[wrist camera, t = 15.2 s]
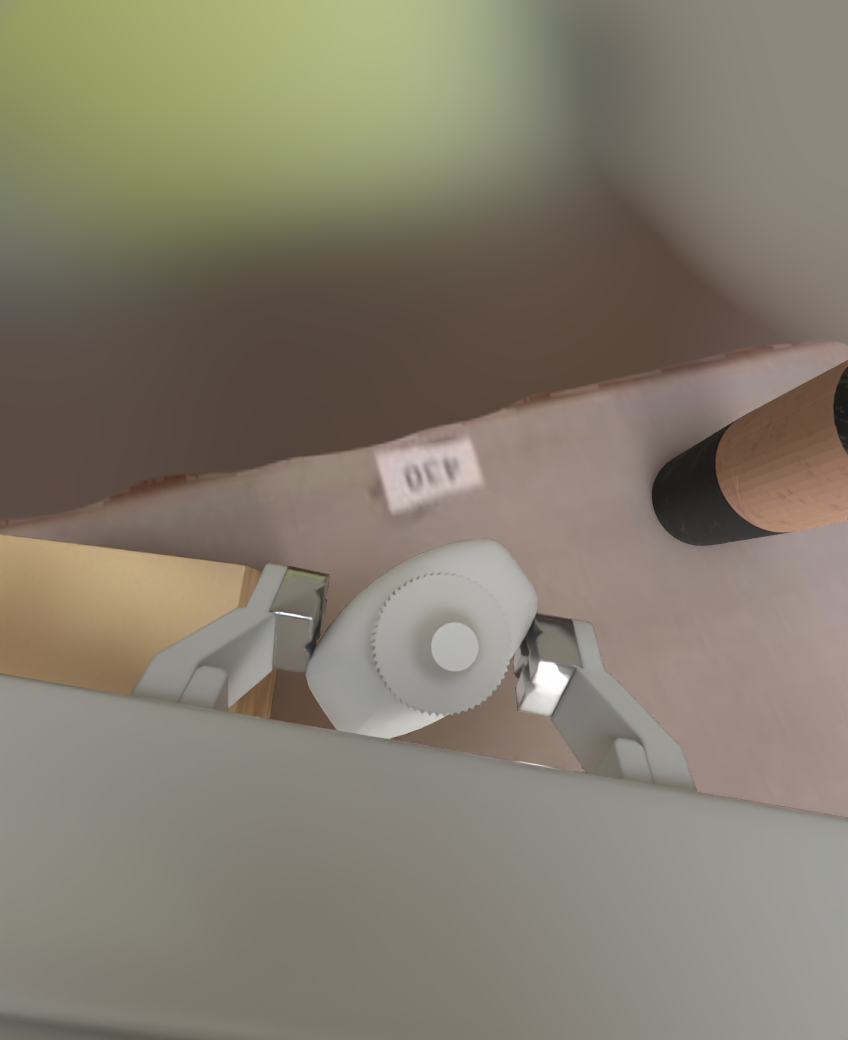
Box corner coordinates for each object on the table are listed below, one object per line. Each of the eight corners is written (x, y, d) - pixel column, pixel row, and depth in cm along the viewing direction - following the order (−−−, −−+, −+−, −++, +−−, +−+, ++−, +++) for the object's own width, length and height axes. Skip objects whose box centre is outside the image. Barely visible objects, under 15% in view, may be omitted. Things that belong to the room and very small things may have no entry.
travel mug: (640, 454, 43) (860, 317, 24) (735, 447, 44) (1024, 310, 24) (656, 553, 42) (901, 497, 22) (753, 545, 43) (1074, 484, 23)
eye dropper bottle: (492, 683, 20) (665, 778, 8) (332, 704, 19) (267, 838, 8) (476, 560, 21) (615, 483, 9) (321, 576, 20) (247, 517, 8)
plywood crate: (262, 764, 37) (195, 851, 24) (43, 741, 36) (-159, 816, 23) (291, 583, 39) (245, 564, 26) (85, 557, 39) (-76, 524, 25)
